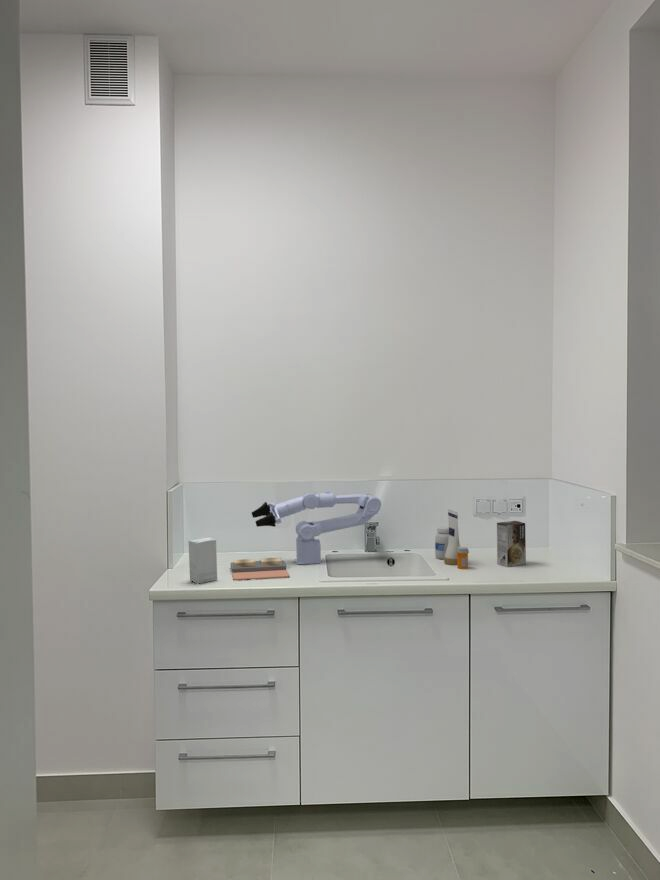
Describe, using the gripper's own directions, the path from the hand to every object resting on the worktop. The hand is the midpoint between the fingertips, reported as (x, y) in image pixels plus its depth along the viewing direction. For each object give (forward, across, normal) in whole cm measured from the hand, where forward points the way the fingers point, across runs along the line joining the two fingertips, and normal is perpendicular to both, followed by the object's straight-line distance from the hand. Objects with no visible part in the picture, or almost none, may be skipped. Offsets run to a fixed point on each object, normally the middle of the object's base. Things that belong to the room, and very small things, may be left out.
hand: (254, 519), depth 272 cm
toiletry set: (-67, +28, +31) cm, 79 cm away
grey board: (+5, +13, +14) cm, 20 cm away
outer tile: (+9, +13, +10) cm, 19 cm away
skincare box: (+25, +24, +4) cm, 34 cm away
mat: (+5, +24, +10) cm, 26 cm away
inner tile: (-1, +14, +13) cm, 19 cm away
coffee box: (-87, +38, +34) cm, 100 cm away
